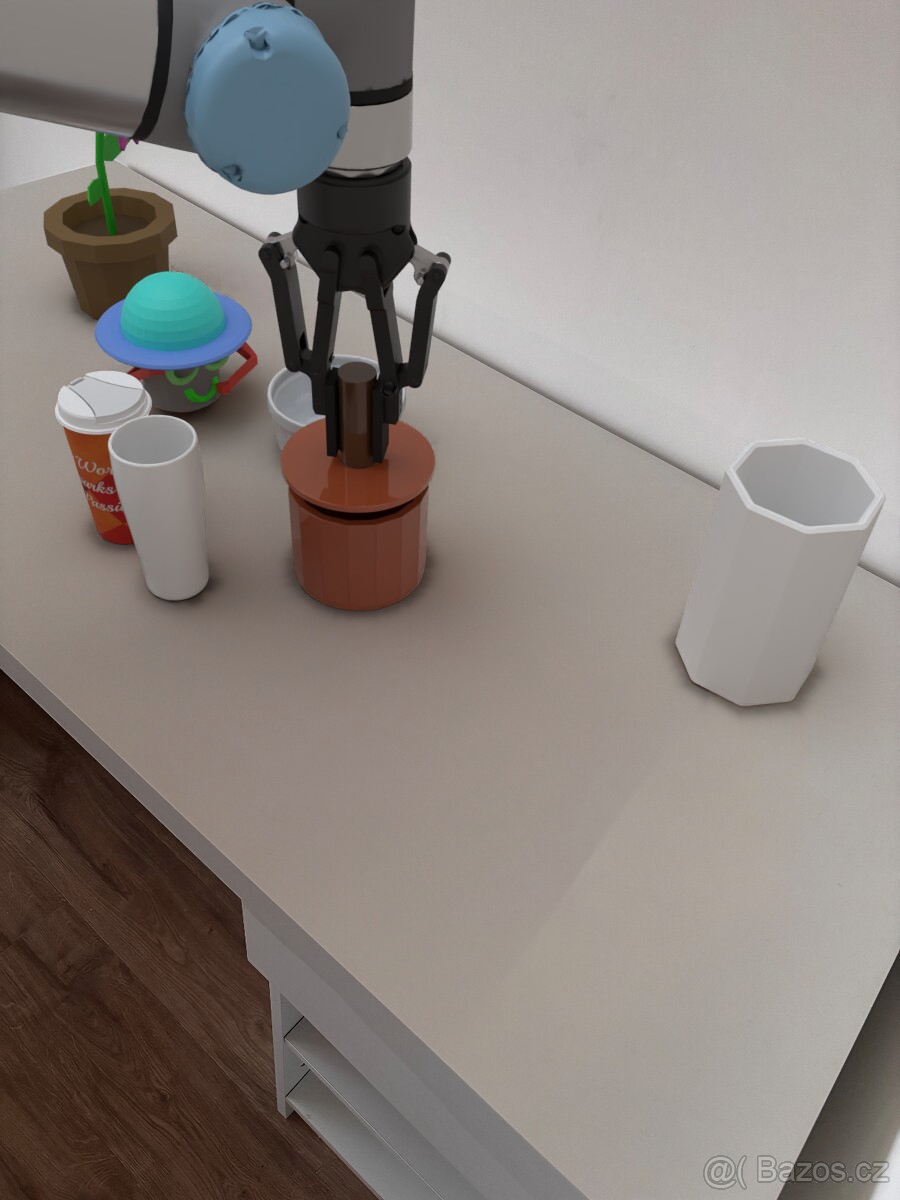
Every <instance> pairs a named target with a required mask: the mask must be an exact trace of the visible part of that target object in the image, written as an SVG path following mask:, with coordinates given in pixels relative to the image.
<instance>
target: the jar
mask: <svg viewBox="0 0 900 1200" xmlns="http://www.w3.org/2000/svg"><path fill="white" fill-rule="evenodd" d="M429 484H430V483H429ZM429 484H428V486H427V487H426V488H425V489H424V490H423V491H422V492H421V493H420V494H419V495H417V496H416V497H415V498H413V499H411V500H410V501H408V502H406V503H404V504H402V505H399V506H396V507H393V508H390V509H386V510H381V511H375V512H365V513H350V512H340V511H335V510H330V509H327V508H323V507H320V506H317V505H315V504H312V503H310V502H308V501H307V500H305V499H303V498H302V497H300V496H299V495H297V494H296V493H295V492H294V491H293V490H292V489H291V488H290V487H289V485H288V484H287V492H288V493H287V495H288V507H289V519H290V532H291V533H290V534H291V547H292V559H293V571H294V574H295V577H296V579H297V582H298V583H299V585H300V586H301V588H302V589H303V590H304V591H305V592H306V593H307V594H308V595H309V596H311V598H313V599H314V600H316V601H318V602H320V603H322V604H324V605H326V606H328V607H332V608H336V609H340V610H345V611H346V610H347V611H353V612H354V611H357V612H358V611H362V612H363V611H374V610H379V609H382V608H386V607H390V606H392V605H394V604H396V603H399V602H400V601H402V600H404V599H405V598H406V597H408V596H410V594H412V593H413V592H414V591H415V589H417V587H418V586H419V584H420V582H421V581H422V579H423V576H424V572H425V569H426V564H427V563H426V560H427V537H428V516H429V515H428V514H429V495H430V494H429V492H430V486H429Z"/></svg>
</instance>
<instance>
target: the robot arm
mask: <svg viewBox="0 0 900 1200" xmlns="http://www.w3.org/2000/svg"><path fill="white" fill-rule="evenodd" d="M415 16H416V0H0V113H2V114H7V115H12V116H16V117H22V118H26V119H31V120H35V121H40V122H46V123H50V124H55V125H56V124H57V125H61V126H66V127H69V128H75V129H80V130H84V131H90V132H95V133H96V132H99V133H103V134H108V135H113V136H118V137H123V138H128V139H131V140H132V141H133V140H138V141H139V142H143V143H147V144H152V145H156V146H160V147H164V148H169V149H173V150H177V151H178V150H179V151H182V152H187V153H192V154H197V156H198V158H199V160H200V161H201V162H202V164H203V165H204V166H205V167H206V168H208V169H209V170H211V171H212V172H213V173H216V174H218V175H219V176H220V177H221V178H222V179H223V180H225V181H226V182H228V183H230V184H231V185H233V186H234V187H236V188H238V189H239V190H242V191H246V192H249V193H252V194H257V195H267V196H269V195H270V196H275V195H281V194H286V193H290V192H293V191H296V200H297V201H296V204H297V214H298V215H297V220H296V223H295V224H294V227H293V229H292V231H288V232H286V233H283V234H282V233H280V232H279V231H272V232H270V233H269V234H268V235H267V237H266V238H265V240H264V242H263V243H262V245H261V247H260V248H259V249H258V252H257V256H258V258H259V259H258V260H260V262H261V264H262V266H263V268H264V270H265V271H266V273H267V275H268V278H269V279H270V283H271V290H272V295H273V301H274V307H275V312H276V313H275V314H276V319H277V324H278V330H279V331H278V332H279V337H280V342H281V349H282V354H283V360H284V365H285V367H286V368H287V369H288V370H289V371H290V372H293V373H296V372H298V371H300V372H302V373H304V374H306V375H307V376H308V377H309V378H310V380H311V387H312V407H313V410H314V412H315V414H317V415H324V416H325V421H326V446H327V456H331V457H336V456H337V454H338V451H339V422H338V390H337V370H338V367H332V369H331V364H332V362H333V359H334V357H335V356H333V354H335V345H336V339H337V332H338V325H339V318H340V309H341V303H342V298H343V297H342V295H343V293H344V292H345V293H346V292H354V293H357V294H361V295H363V296H364V298H365V305H366V309H367V311H369V315H370V321H371V327H372V334H373V339H374V347H375V352H376V357H377V362H378V364H379V370H380V374H379V376H378V379H377V383H376V384H375V387H374V389H373V392H372V432H373V462H374V463H381V464H382V462H383V459H384V456H385V453H386V450H387V447H388V445H389V424H393V425H396V424H397V422H398V420H399V418H400V415H401V412H402V395H403V388H404V387H405V388H407V387H409V388H411V389H418V388H420V387H421V386H422V384H423V381H424V379H425V375H426V372H427V369H428V366H429V359H430V352H431V351H430V350H431V346H432V338H433V332H434V324H435V317H436V310H437V303H438V296H439V292H440V290H441V288H442V286H443V284H444V282H445V281H446V279H447V275H448V272H449V270H450V266H451V264H452V257H451V256H450V254H449V253H448V252H446V251H439V252H437V253H436V254H435V253H433V252H431V251H430V250H428V249H426V248H425V247H422V246H421V245H419V244H418V242H419V241H418V238H417V235H416V232H415V230H414V229H413V226H412V220H411V219H412V218H411V216H412V215H411V213H412V212H411V210H412V166H413V165H412V161H411V159H410V158H409V155H410V153H411V151H412V149H413V123H414V122H413V121H414V120H413V119H414V117H413V116H414V70H413V67H414V66H413V65H414V44H415V43H414V41H415V19H416V17H415ZM299 253H300V255H301V256H302V257H303V259H304V260H305V261H306V262H307V264H308V265H309V266H310V268H311V270H312V271H313V272H314V273H315V275H316V276H317V277H318V279H319V280H318V287H317V296H316V302H317V306H316V307H317V308H316V316H315V324H314V330H313V331H314V332H313V340H312V349H310V346H309V339H308V334H307V333H308V332H307V327H306V319H305V314H304V313H305V312H304V306H303V299H302V291H301V285H300V279H299V272H298V267H297V260H298V258H299ZM408 264H411V265H412V267H413V275H412V276H413V281H415V283H416V285H417V286H420V287H419V289H418V292H417V295H416V299H415V305H414V306H415V307H414V313H413V322H412V330H411V337H410V344H409V352H408V353H409V355H408V360H407V362H404V359H403V352H402V351H403V350H402V346H401V339H400V331H399V325H398V318H397V311H396V306H395V305H396V304H395V297H394V280H395V279H396V278H397V277H398V276H399V275H400V273H401V272H402V271H403V270H404V269H405V268H406V266H407V265H408Z"/></svg>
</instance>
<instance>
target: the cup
mask: <svg viewBox="0 0 900 1200" xmlns="http://www.w3.org/2000/svg"><path fill="white" fill-rule="evenodd" d="M886 500H887V496H886V494H885V493H884V492H883V490H882V489H881V488H880V486H879V485H878V484H877V482H876V481H875V479H874V478H873V476H872V475H871V474H870V472H869V471H868V469H867V468H866V466H865V465H864V464H863V463H862V461H861V460H860V459H859V458H857V457H856V456H852V455H850V454H848V453H845V452H842V451H840V450H838V449H835V448H833V447H830V446H827V445H825V444H822V443H820V442H817V441H815V440H812V439H811V438H807V437H792V438H776V439H775V438H774V439H760V440H752V441H749V442H748V443H747V444H746V445H745V446H744V447H743V448H742V449H741V450H740V451H739V453H737V454H736V456H735V458H734V459H733V460H732V461H731V462H730V463H729V464H728V465H727V467H726V468H725V470H724V474H723V477H722V481H721V483H720V487H719V491H718V494H717V497H716V501H715V504H714V508H713V512H712V514H711V518H710V521H709V526H708V529H707V531H706V535H705V539H704V541H703V546H702V549H701V553H700V556H699V559H698V562H697V567H696V570H695V573H694V576H693V580H692V584H691V587H690V591H689V594H688V597H687V600H686V604H685V608H684V612H683V614H682V618H681V621H680V624H679V628H678V631H677V634H676V638H675V646H676V648H677V651H678V653H679V655H680V658H681V660H682V662H683V664H684V666H685V669H686V672H687V674H688V676H689V679H690V680H691V681H692V682H693V683H694V684H697V685H698V686H700V687H702V688H704V689H705V690H708V691H710V692H712V693H714V694H716V695H718V696H720V697H721V698H723V699H725V700H727V701H729V702H732V703H733V704H735V705H737V706H741V707H748V706H749V707H750V706H757V705H758V706H760V705H767V704H777V703H788V702H792V701H794V699H795V697H796V696H797V694H798V693H799V691H800V689H801V688H802V687H803V685H804V683H805V682H806V680H807V678H808V677H809V675H810V673H812V670H813V668H814V666H815V664H816V661H817V659H818V656H819V654H820V652H821V649H822V647H823V645H824V643H825V640H826V639H827V636H828V633H829V631H830V629H831V627H832V624H833V622H834V620H835V617H836V616H837V613H838V610H839V608H840V606H841V604H842V601H843V599H844V597H845V595H846V592H847V590H848V588H849V585H850V583H851V581H852V579H853V576H854V574H855V571H856V570H857V567H858V564H859V562H860V560H861V558H862V555H863V553H864V551H865V548H866V546H867V544H868V542H869V540H870V537H871V536H872V533H873V530H874V528H875V526H876V524H877V521H878V519H879V517H880V514H881V511H882V510H883V507H884V505H885V503H886Z"/></svg>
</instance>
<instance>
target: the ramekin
mask: <svg viewBox="0 0 900 1200" xmlns="http://www.w3.org/2000/svg"><path fill="white" fill-rule="evenodd" d="M333 356H335V357H334V359H333V362H332V364H331V369H332V367H338V368H339V367H340V366H341V365H343V364H345V363H348V362H355V361H359V362H365V363H368V364H371V365H372V366H374V367H375V369H376V371H377V379H378V376H379V374H380V370H379V364H378V360H374V359H371V358H368V357H364V356H360V355H353V354H341V353H337V354H336V353H334V354H333ZM266 396H267V397H266V398H267V400H266V402H267V409H268V412H269V414H270V416H271V418H272V422H273V428H274V431H275V436H276V440H277V443H278V447H279V449H280V452H281V453H282V451H283V448H284V446H285V444H286V442H287V441H288V440H289V439H290V437H291V436H292V435H293V434H295V433H296V432H297V431H298V430H300V429H301V428H303V427H304V426H306V425H308V424H310V423H312V422H314V421H317V420H319V419H323V418H325V416H324V415H317V414H315V412H314V410H313V407H312V387H311V380H310V378H309V377H308V376H307V375H306V374H304V373H302V372H300V371H298V372H296V373H293V372H290V371H289V370H288V369H287V368H286V366H285V367H283V368H282V369H280V370H279V371H278V372H277V373H276V374H275V375H274V376H273V377H272V379H271V380H270V382H269V383H268V386H267V391H266ZM406 407H407V391H406V387H404V388H403V395H402V412H401V415H400V418H399V421H401V422H403V415H404V413H405V410H406Z"/></svg>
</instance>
